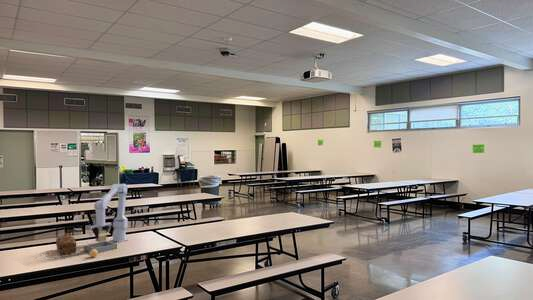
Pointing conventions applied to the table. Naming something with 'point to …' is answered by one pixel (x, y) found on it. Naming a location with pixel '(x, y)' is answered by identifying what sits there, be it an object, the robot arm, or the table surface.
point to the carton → (101, 235)
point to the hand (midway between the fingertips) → (100, 237)
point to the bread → (66, 245)
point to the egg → (93, 253)
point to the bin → (101, 246)
